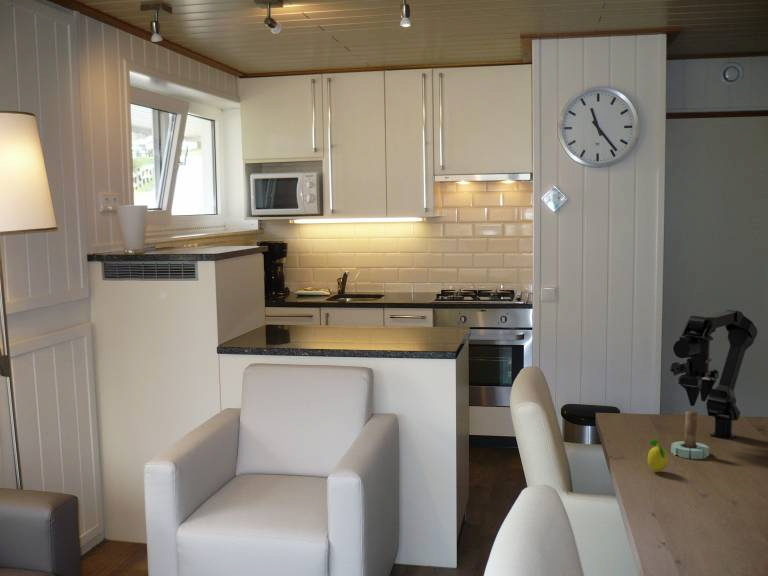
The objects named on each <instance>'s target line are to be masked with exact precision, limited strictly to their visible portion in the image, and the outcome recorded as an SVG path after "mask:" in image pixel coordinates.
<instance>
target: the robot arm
mask: <svg viewBox="0 0 768 576" xmlns="http://www.w3.org/2000/svg"><path fill="white" fill-rule="evenodd" d="M722 327H724V328H725V330H726V331H727V340H728V342H729V348H728V351H727V356H726V358H725V362H724V365H723V369H722V372H721V375H720V374H719V373H720V372H719V371H718V370H717V369H715V368H710V363H711V362H712V357H711V358H710V348H711V347H710V346H711V345H710V344H711V343H710V342H711V341H714V338H713V336H711V335H712V334H713V333H715V332H716V331H717V330H716V329H718V328H722ZM757 336H758V329H757V326H756V325H755V324H754V321H752V320H751V319H750V318H748V317H746V316H745V315H744V314H743V312H742V311H740V310H734V309H727V310H726V309H725V310H724V311H721V312H717V313H714V314H709V315H696V314H695V315H694V314H693V315H691V316H689V319H687V321H686V324H685V326H684V328H683V330H682V333H681V336H679V340H676V341H675V343H674V345H673V348H672V349H673V353H674V354H675V356H676V357H677V358H679V359H686V358H687V359H686V362H681V363H680V362H679V361H675V362H672V363H671V365H670V369H669V370H670V372H671V373H672V375H673V376H678V375H680V374H681V375H680V376H679V377H678V378H677V379H678V381H677V382H678V385H679V386H681V387H682V388H683V389H685V391H686V394H687V398H688V403H689V405H690V406H691V407H694V406H695V405H696V403H697V400H698V398H699V394H700V401H701V402H706V404H705V405H706V410H707V416H708V417H713V419H714V421H713V432H711V433H709V436H711V437H717V438H722V439H727V440H730V439H732V438H733V437H735V436H736V435H737V433H733V425H734V421H738V420H739V419H740V417H741V411H740V410H739V408H738V406H737V404H736V403H737V397H736V394H735V392H734V391H735V388H736V384H737V380H738V377H739V373H740V369H741V367H742V363H743V360H744V357H745V353H746V350H747V349H749V348H751V346H752V345H753V344H754V342H755V339H756V337H757ZM719 375H720V378H719ZM718 379H719V382H718V384H717V386H716V387H715V388H714V385H715V384H716V382H717V380H718Z"/></svg>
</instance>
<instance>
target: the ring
mask: <svg viewBox="0 0 768 576" xmlns="http://www.w3.org/2000/svg"><path fill="white" fill-rule="evenodd" d="M670 446H671V447H670V453H671V454H672V453H673V454H672V455H674V456H675V455H678V456H679V457H678V456H677V457H678V458H682V457H683V458H682V459H687V458H688V459H690V460H700V459H701V460H703V459H707V458H708V457H710V447H709V446H707V445H706V444H704V443H702V442H701V443H700V442H696V448H693V449H690V448H685V447H684V440H683V441H682V440H681V441H680V440H679V441H675V442H672V443H671V445H670ZM707 456H708V457H707Z"/></svg>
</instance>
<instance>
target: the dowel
mask: <svg viewBox="0 0 768 576" xmlns="http://www.w3.org/2000/svg"><path fill="white" fill-rule="evenodd" d="M697 426H698V412H697V411H695V410H694V411H693V410H685V418H684V440H683V441H684V447H685V448H690V449H693V448H696V443H697V429H698V427H697Z"/></svg>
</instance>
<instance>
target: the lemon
mask: <svg viewBox="0 0 768 576" xmlns="http://www.w3.org/2000/svg"><path fill="white" fill-rule="evenodd" d="M659 441H660V438H657V439H656V438H652V439H651V440H650V442H649V445H650V446H652V447H651V449H650V450H649V451H648V454H647V464H648V466H649V467H650V468H651V469H652V470H654V471H655V472H656V473H659V472H660V471H663V470H665V469H666V468H667V467H668V462H669V458H668V454H667V452H666V450H665V449H664V448H663V447H662V446H660V444H659Z"/></svg>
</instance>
